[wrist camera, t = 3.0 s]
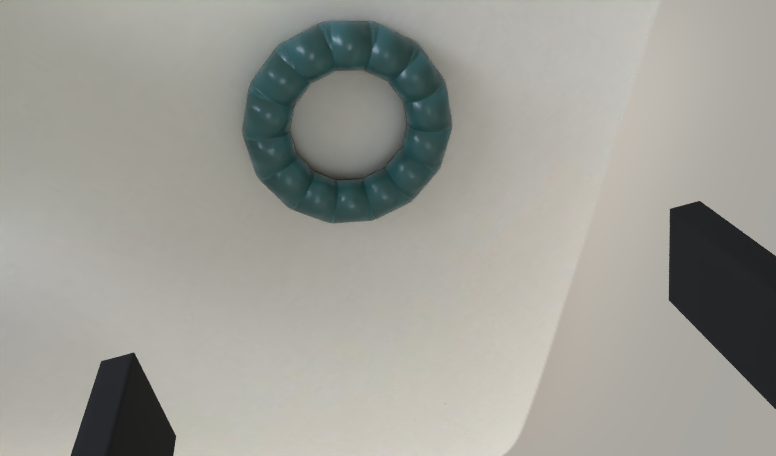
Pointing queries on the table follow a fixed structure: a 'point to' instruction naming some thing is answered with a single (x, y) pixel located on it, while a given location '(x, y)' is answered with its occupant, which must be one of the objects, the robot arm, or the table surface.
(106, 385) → the robot arm
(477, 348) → the table surface
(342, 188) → the teal beaded ring
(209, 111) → the table surface
